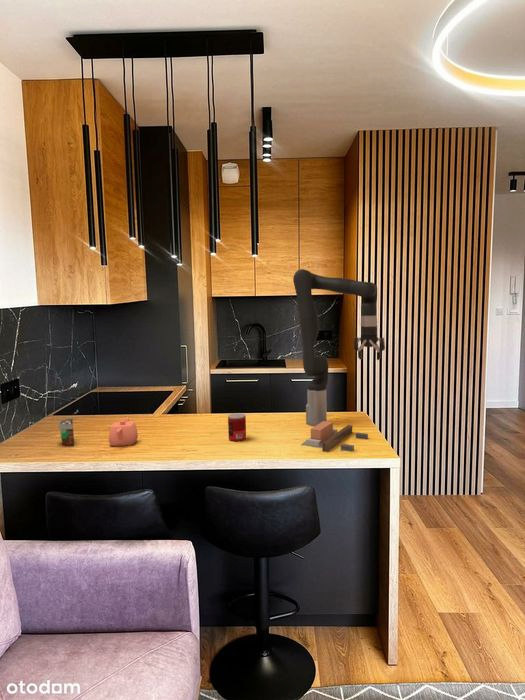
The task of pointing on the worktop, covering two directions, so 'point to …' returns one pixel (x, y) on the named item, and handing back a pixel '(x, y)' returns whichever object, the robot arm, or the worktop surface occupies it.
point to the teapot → (123, 433)
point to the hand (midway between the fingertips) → (369, 359)
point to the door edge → (336, 438)
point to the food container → (67, 432)
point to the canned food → (237, 427)
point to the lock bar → (322, 431)
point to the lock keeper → (316, 441)
